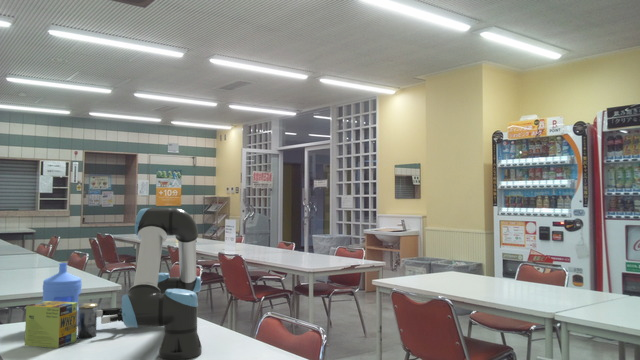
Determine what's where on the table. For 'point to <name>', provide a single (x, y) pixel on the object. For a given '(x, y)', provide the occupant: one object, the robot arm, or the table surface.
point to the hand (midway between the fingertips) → (94, 318)
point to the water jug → (62, 287)
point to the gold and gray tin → (87, 320)
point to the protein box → (51, 324)
